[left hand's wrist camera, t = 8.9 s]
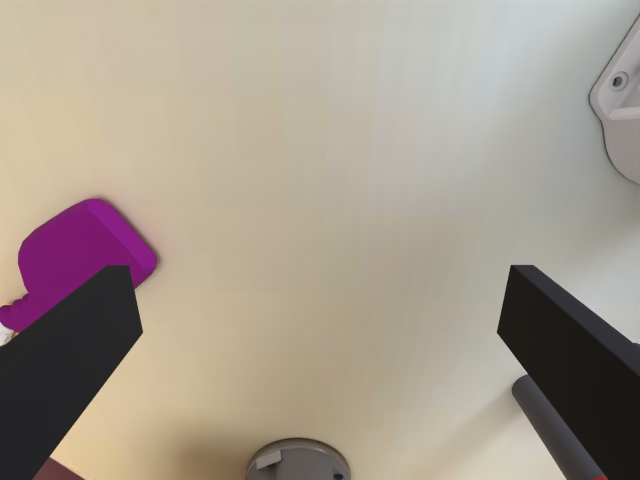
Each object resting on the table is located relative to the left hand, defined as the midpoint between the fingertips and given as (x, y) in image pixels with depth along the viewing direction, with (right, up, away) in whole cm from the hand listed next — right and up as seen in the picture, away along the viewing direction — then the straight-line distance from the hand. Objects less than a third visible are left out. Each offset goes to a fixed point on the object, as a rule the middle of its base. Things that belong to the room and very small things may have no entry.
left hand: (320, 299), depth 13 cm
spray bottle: (-30, -3, +29) cm, 42 cm away
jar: (+27, -17, +35) cm, 48 cm away
